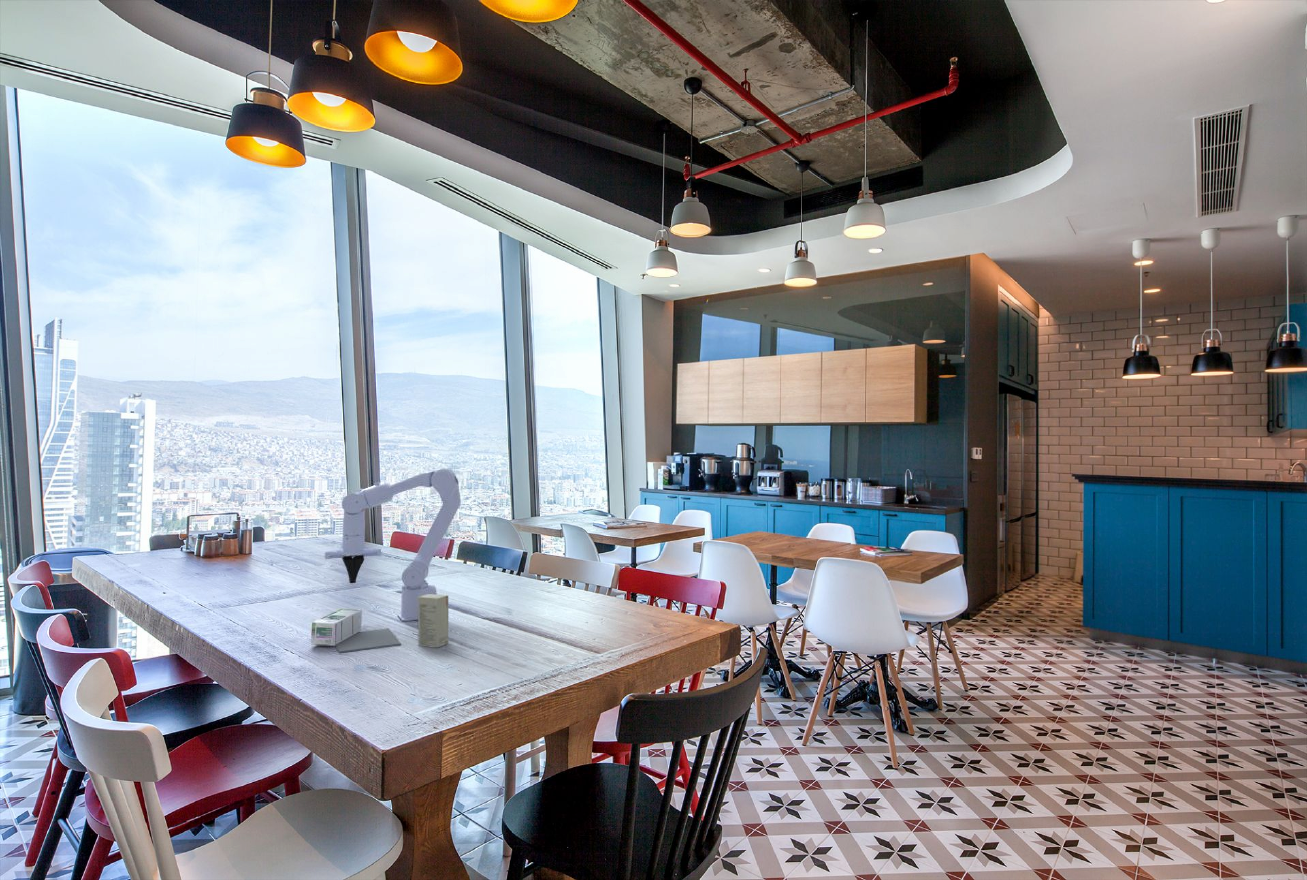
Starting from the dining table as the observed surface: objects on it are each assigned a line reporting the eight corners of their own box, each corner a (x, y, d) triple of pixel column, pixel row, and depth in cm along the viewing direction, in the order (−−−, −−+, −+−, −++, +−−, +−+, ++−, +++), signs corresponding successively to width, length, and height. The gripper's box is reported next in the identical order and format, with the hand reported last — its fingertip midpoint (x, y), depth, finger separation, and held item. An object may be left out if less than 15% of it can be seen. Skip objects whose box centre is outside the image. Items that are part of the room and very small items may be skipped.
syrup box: (362, 609, 175) (334, 622, 161) (361, 631, 175) (333, 646, 160) (341, 608, 175) (311, 621, 161) (340, 631, 175) (310, 645, 161)
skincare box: (449, 643, 166) (450, 595, 166) (438, 648, 162) (439, 598, 162) (427, 641, 168) (429, 592, 168) (416, 645, 164) (417, 596, 164)
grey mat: (388, 629, 178) (388, 628, 178) (400, 645, 164) (400, 643, 164) (331, 636, 170) (331, 635, 170) (339, 653, 157) (339, 651, 157)
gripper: (378, 532, 196) (377, 578, 195) (324, 534, 188) (322, 582, 188) (382, 534, 190) (381, 582, 189) (327, 537, 182) (325, 586, 182)
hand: (352, 582), depth 188 cm, fingers closed
